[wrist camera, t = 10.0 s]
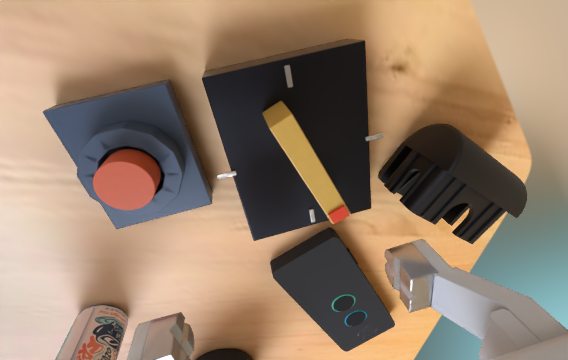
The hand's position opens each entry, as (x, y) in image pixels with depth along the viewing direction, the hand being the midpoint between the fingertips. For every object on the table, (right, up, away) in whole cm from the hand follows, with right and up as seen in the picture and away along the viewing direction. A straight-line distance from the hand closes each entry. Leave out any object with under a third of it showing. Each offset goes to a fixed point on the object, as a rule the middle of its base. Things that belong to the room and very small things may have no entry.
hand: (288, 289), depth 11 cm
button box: (-11, +6, +11) cm, 17 cm away
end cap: (+14, +6, +18) cm, 23 cm away
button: (-11, +5, +9) cm, 15 cm away
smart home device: (+6, -10, +24) cm, 27 cm away
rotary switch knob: (+1, +6, +11) cm, 12 cm away
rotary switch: (+1, +8, +13) cm, 15 cm away
